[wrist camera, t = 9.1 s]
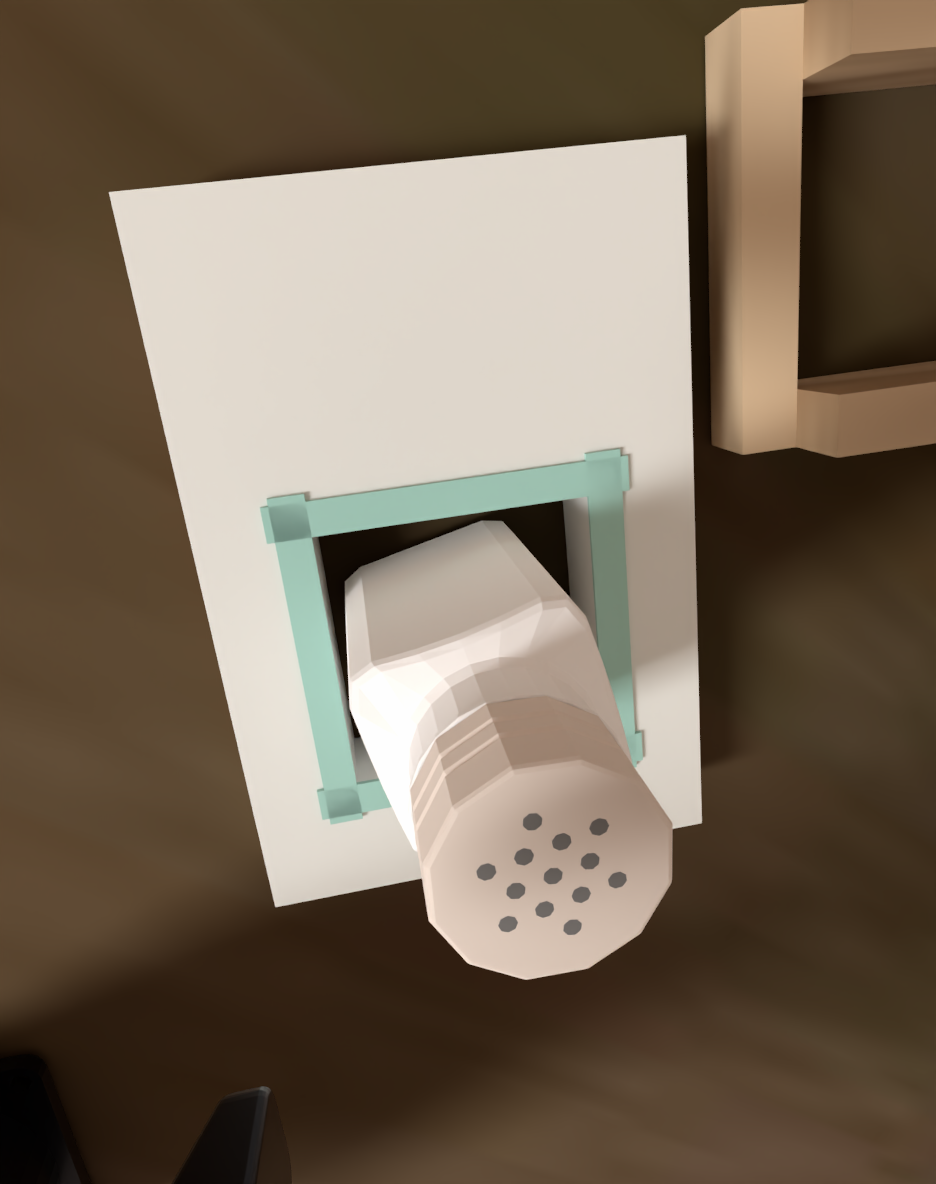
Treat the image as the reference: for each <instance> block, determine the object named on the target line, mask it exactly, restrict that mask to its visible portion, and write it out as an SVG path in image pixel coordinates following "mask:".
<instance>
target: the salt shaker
mask: <svg viewBox="0 0 936 1184" xmlns="http://www.w3.org/2000/svg"><path fill="white" fill-rule="evenodd" d="M345 619H346V641H347V663H348V685H349V707H350V711H351V713H352V716H353V718H354V721H355V723H356V725H357V728H358V730H359V733H360V735H361V738H362V740H363V743H364V745H365V747H366V750H367V752H368V755H369V757H370V759H371V762H372V764H373V766H374V769H375V771H376V773H377V775H378V778H379V780H380V782H381V785H382V787H383V789H384V791H385V793H386V796H387V798H388V800H389V802H390V804H391V806H392V808H393V810H394V812H395V815H396V817H397V819H398V821H399V823H400V825H401V826H402V828H403V830H404V832H405V834H406V836H407V838H408V840H409V842H410V844H411V846H412V848H413V849H414V850H415V851H417V852H418V858H419V864H420V870H421V877H422V881H423V889H424V895H425V901H426V908H427V914H428V920H429V922H430V923H431V924H432V925H433V926H434V927H435V928H436V929H437V931H438V932H439V933H440V934H441V935H442V936H443V937H444V938H445V939H446V940H447V941H448V943H449V944H450V945H451V946H452V947H453V948H454V949H455V950H456V951H457V952H458V953H459V954H460V956H461V957H462V958H463V959H464V960H465V961H466V962H467V963H468V964H470V965H474V966H478V967H481V968H485V969H488V970H492V971H496V972H499V973H503V974H506V975H510V976H514V977H517V978H521V979H525V980H528V979H534V978H539V977H545V976H550V975H556V974H561V973H567V972H572V971H578V970H583V969H588V968H590V967H591V966H593V965H594V964H596V963H597V962H599V961H600V960H602V959H603V958H605V957H606V956H608V955H609V954H611V953H612V952H614V951H615V950H617V949H618V948H620V947H621V946H623V945H624V944H626V943H627V942H629V941H630V940H632V939H633V938H635V937H636V936H638V935H639V934H641V932H642V931H643V929H644V927H645V926H646V924H647V922H648V921H649V919H650V917H651V916H652V914H653V912H654V911H655V909H656V907H657V906H658V904H659V902H660V901H661V899H662V898H663V896H664V894H665V893H666V891H667V889H668V888H669V886H670V884H671V883H672V827H673V823H672V822H671V820H670V819H669V817H668V816H667V814H666V813H665V811H664V810H663V809H662V807H661V806H660V804H659V803H658V801H657V800H656V798H655V797H654V795H653V794H652V793H651V791H650V790H649V788H648V787H647V785H646V784H645V782H644V781H643V779H642V778H641V776H640V775H639V774H638V772H637V771H636V769H635V768H634V766H633V765H632V759H631V755H630V751H629V747H628V743H627V740H626V736H625V732H624V728H623V725H622V721H621V718H620V714H619V711H618V708H617V704H616V701H615V697H614V694H613V691H612V688H611V685H610V682H609V679H608V676H607V673H606V670H605V667H604V664H603V661H602V658H601V656H600V653H599V650H598V647H597V645H596V642H595V639H594V636H593V634H592V631H591V628H590V625H589V623H588V620H587V617H586V616H585V614H584V613H583V612H582V611H581V610H580V609H579V607H578V606H577V605H576V604H575V603H574V602H573V601H572V599H571V598H570V597H569V596H568V595H567V594H566V593H565V591H564V590H563V589H562V588H561V587H560V586H559V585H558V583H557V582H556V581H555V580H554V579H553V578H552V577H551V575H550V574H549V573H548V572H547V571H546V570H545V569H544V567H543V566H542V565H541V564H540V563H539V562H538V561H537V559H536V558H535V557H534V556H533V555H532V554H531V553H530V551H529V550H528V549H527V548H526V547H525V546H524V545H523V543H522V542H521V541H520V540H519V539H518V538H517V536H516V535H515V534H514V533H513V532H512V531H511V530H510V529H509V528H508V527H507V526H506V524H505V523H504V522H503V521H479V522H477V523H474V524H471V525H469V526H466V527H464V528H461V529H458V530H456V531H453V532H450V533H448V534H445V535H443V536H440V537H437V538H435V539H432V540H430V541H427V542H424V543H422V544H419V545H416V546H414V547H411V548H409V549H406V550H403V551H401V552H398V553H396V554H393V555H390V556H388V557H385V558H382V559H380V560H377V561H375V562H372V563H369V564H367V565H364V566H362V567H360V568H359V569H358V570H357V571H355V572H354V573H353V574H352V575H351V576H350V577H349V578H348V579H347V580H346V581H345Z"/></svg>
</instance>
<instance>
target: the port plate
mask: <svg viewBox="0 0 936 1184" xmlns="http://www.w3.org/2000/svg"><path fill="white" fill-rule="evenodd" d="M109 195H110V199H111V204H112V208H113V212H114V216H115V221H116V225H117V229H118V234H119V238H120V242H121V246H122V251H123V255H124V259H125V264H126V268H127V272H128V277H129V281H130V285H131V289H132V294H133V298H134V302H135V307H136V311H137V315H138V319H139V324H140V328H141V332H142V337H143V341H144V345H145V350H146V354H147V358H148V362H149V367H150V371H151V375H152V380H153V384H154V388H155V393H156V397H157V401H158V405H159V410H160V414H161V418H162V423H163V427H164V431H165V435H166V440H167V444H168V448H169V453H170V457H171V461H172V466H173V470H174V474H175V478H176V483H177V487H178V491H179V496H180V500H181V504H182V508H183V513H184V517H185V521H186V526H187V530H188V534H189V539H190V543H191V547H192V551H193V556H194V560H195V564H196V569H197V573H198V577H199V582H200V586H201V590H202V594H203V599H204V603H205V607H206V612H207V616H208V620H209V624H210V629H211V633H212V637H213V642H214V646H215V650H216V655H217V659H218V663H219V667H220V672H221V676H222V680H223V685H224V689H225V693H226V697H227V702H228V706H229V710H230V715H231V719H232V723H233V728H234V732H235V736H236V740H237V745H238V749H239V753H240V758H241V762H242V766H243V771H244V775H245V779H246V783H247V788H248V792H249V796H250V801H251V805H252V809H253V813H254V818H255V822H256V826H257V831H258V835H259V839H260V844H261V848H262V852H263V856H264V861H265V865H266V869H267V874H268V878H269V882H270V886H271V891H272V895H273V899H274V904H275V907H280V906H285V905H290V904H295V903H300V902H305V901H310V900H315V899H320V898H325V897H330V896H335V895H341V894H346V893H351V892H356V891H361V890H366V889H371V888H376V887H381V886H386V885H391V884H396V883H401V882H406V881H411V880H416V879H421V878H422V877H421V870H420V864H419V858H418V852H417V851H415V850H414V849H413V848H412V846H411V844H410V842H409V840H408V838H407V836H406V834H405V832H404V830H403V828H402V826H401V825H400V823H399V821H398V819H397V817H396V815H395V812H394V810H393V808H392V806H391V804H390V802H389V800H388V798H387V796H386V793H385V791H384V789H383V787H382V785H381V782H380V780H379V778H378V775H377V773H376V771H375V769H374V766H373V764H372V762H371V759H370V757H369V755H368V752H367V750H366V747H365V745H364V743H363V740H362V738H361V737H358V738H354V733H353V727H352V722H351V716H350V711H349V705H348V700H347V694H346V688H345V683H344V677H343V672H342V666H341V661H340V655H339V649H338V644H337V638H336V633H335V627H334V621H333V616H332V610H331V605H330V599H329V594H328V588H327V582H326V577H325V571H324V566H323V560H322V555H321V549H320V543H319V538H318V536H325V535H331V534H338V533H345V532H352V531H358V530H365V529H372V528H379V527H385V526H392V525H399V524H406V523H412V522H419V521H426V520H433V519H439V518H446V517H453V516H460V515H466V514H473V513H480V512H486V511H493V510H500V509H507V508H513V507H520V506H527V505H534V504H540V503H547V502H554V501H561V500H563V510H564V523H565V536H566V549H567V562H568V575H569V588H570V598H571V599H572V601H573V602H574V603H575V604H576V605H577V606H578V607H579V609H580V610H581V611H582V612H583V613H584V614H585V616H586V617H587V620H588V623H589V625H590V628H591V631H592V634H593V636H594V639H595V642H596V645H597V647H598V650H599V653H600V656H601V658H602V661H603V664H604V667H605V670H606V673H607V676H608V679H609V682H610V685H611V688H612V691H613V694H614V697H615V701H616V704H617V708H618V711H619V714H620V718H621V721H622V725H623V728H624V732H625V736H626V740H627V743H628V747H629V751H630V755H631V759H632V765H633V766H634V768H635V769H636V771H637V772H638V774H639V775H640V776H641V778H642V779H643V781H644V782H645V784H646V785H647V787H648V788H649V790H650V791H651V793H652V794H653V795H654V797H655V798H656V800H657V801H658V803H659V804H660V806H661V807H662V809H663V810H664V811H665V813H666V814H667V816H668V817H669V819H670V820H671V822H672V823H673V827H672V829H675V828H680V827H685V826H690V825H695V824H700V823H702V805H701V762H700V719H699V676H698V633H697V590H696V547H695V504H694V461H693V418H692V375H691V332H690V289H689V246H688V203H687V160H686V135H682V136H672V137H662V138H652V139H642V140H632V141H622V142H612V143H602V144H591V145H581V146H571V147H561V148H551V149H541V150H531V151H521V152H511V153H500V154H490V155H480V156H470V157H460V158H450V159H440V160H430V161H420V162H409V163H399V164H389V165H379V166H369V167H359V168H349V169H339V170H329V171H318V172H308V173H298V174H288V175H278V176H268V177H258V178H248V179H238V180H227V181H217V182H207V183H197V184H187V185H177V186H167V187H157V188H147V189H136V190H126V191H116V192H109Z"/></svg>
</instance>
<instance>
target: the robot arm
mask: <svg viewBox="0 0 936 1184" xmlns="http://www.w3.org/2000/svg"><path fill="white" fill-rule="evenodd" d="M20 1076H25V1077H28V1078H23V1077H20ZM0 1184H91V1182H90V1180H89V1177H88V1174H87V1172H86V1169H85V1166H84V1164H83V1161H82V1158H81V1156H80V1153H79V1150H78V1147H77V1145H76V1142H75V1139H74V1137H73V1134H72V1131H71V1129H70V1126H69V1123H68V1121H67V1118H66V1115H65V1113H64V1110H63V1107H62V1105H61V1102H60V1099H59V1097H58V1094H57V1091H56V1089H55V1086H54V1083H53V1081H52V1078H51V1075H50V1072H49V1070H48V1067H47V1065H46V1064H45V1062H44V1061H43V1060H42V1059H40V1058H39V1057H37V1056H34V1055H29V1054H28V1055H18V1056H13V1057H9V1058H4V1059H0ZM172 1184H292V1180H291V1165H290V1157H289V1151H288V1147H287V1143H286V1139H285V1135H284V1132H283V1128H282V1124H281V1120H280V1116H279V1112H278V1108H277V1104H276V1101H275V1097H274V1094H273V1093H272V1091H271V1089H270V1088H268V1087H264V1086H261V1087H257V1088H252V1089H248V1090H243V1091H239V1092H234V1093H230V1094H228V1095H226V1096H224V1097H223V1098H222V1099H221V1100H220V1101H219V1103H218V1104H217V1106H216V1107H215V1109H214V1111H213V1113H212V1114H211V1116H210V1118H209V1120H208V1121H207V1123H206V1125H205V1127H204V1128H203V1130H202V1132H201V1134H200V1135H199V1137H198V1139H197V1141H196V1142H195V1144H194V1146H193V1148H192V1149H191V1151H190V1153H189V1155H188V1156H187V1158H186V1160H185V1161H184V1163H183V1165H182V1167H181V1168H180V1170H179V1172H178V1174H177V1175H176V1177H175V1179H174V1181H173V1182H172Z"/></svg>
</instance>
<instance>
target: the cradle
mask: <svg viewBox="0 0 936 1184" xmlns="http://www.w3.org/2000/svg"><path fill="white" fill-rule="evenodd" d="M705 64H706V126H707V189H708V252H709V315H710V378H711V441H712V445H713V446H716V447H719V448H722V449H726V450H729V451H732V452H735V453H738V454H741V455H745V454H752V453H759V452H766V451H773V450H780V449H786V448H793V447H798V448H802V449H805V450H809V451H813V452H817V453H821V454H825V455H828V456H832V457H836V458H840V457H846V456H853V455H860V454H867V453H873V452H880V451H887V450H894V449H900V448H907V447H914V446H921V445H927V444H934V443H936V361H930V362H922V363H915V364H908V365H900V366H893V367H885V368H878V369H871V370H863V371H856V372H849V373H841V374H834V375H827V376H819V377H812V378H805V379H797V375H798V319H799V263H800V207H801V151H802V97H808V96H818V95H829V94H839V93H850V92H860V91H871V90H881V89H892V88H902V87H913V86H923V85H934V84H936V0H808V1H807V2H806V3H803V4H791V5H779V6H767V7H754V8H742V9H740V10H739V11H737V12H736V13H735V14H733V15H732V16H731V17H730V18H728V19H727V20H726V21H724V22H723V23H722V24H721V25H719V26H718V27H717V28H715V29H714V30H713V31H712V32H710V33H709V34H708V35H706V36H705Z"/></svg>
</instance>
